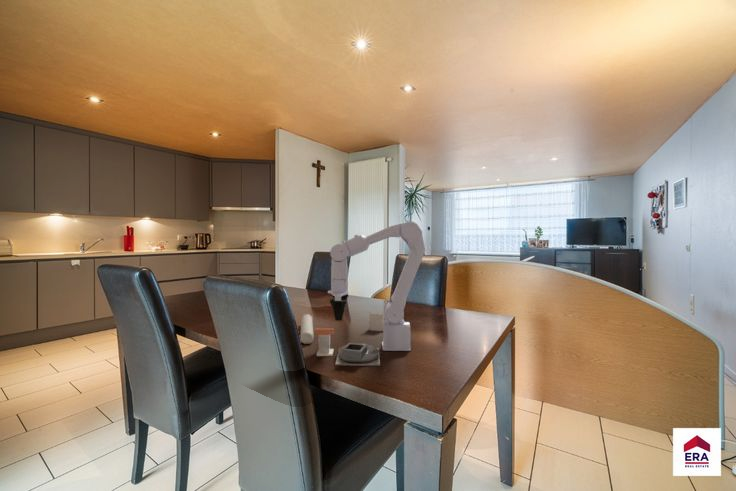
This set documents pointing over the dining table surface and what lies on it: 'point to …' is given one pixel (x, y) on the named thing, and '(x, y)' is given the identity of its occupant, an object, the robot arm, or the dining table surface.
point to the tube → (307, 329)
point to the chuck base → (371, 363)
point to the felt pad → (325, 353)
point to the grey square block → (376, 322)
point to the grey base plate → (358, 353)
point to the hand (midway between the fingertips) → (339, 317)
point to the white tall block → (324, 338)
